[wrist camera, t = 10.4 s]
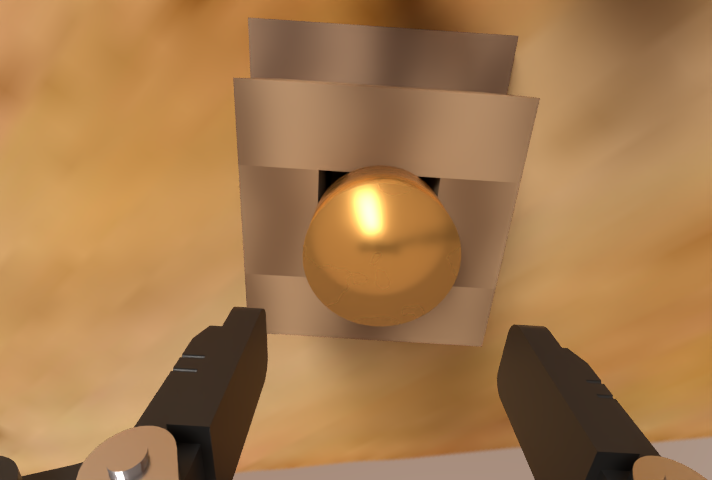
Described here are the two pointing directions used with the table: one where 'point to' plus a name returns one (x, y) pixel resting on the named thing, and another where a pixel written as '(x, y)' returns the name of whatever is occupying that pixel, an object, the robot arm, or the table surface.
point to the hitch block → (376, 157)
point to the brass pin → (381, 247)
